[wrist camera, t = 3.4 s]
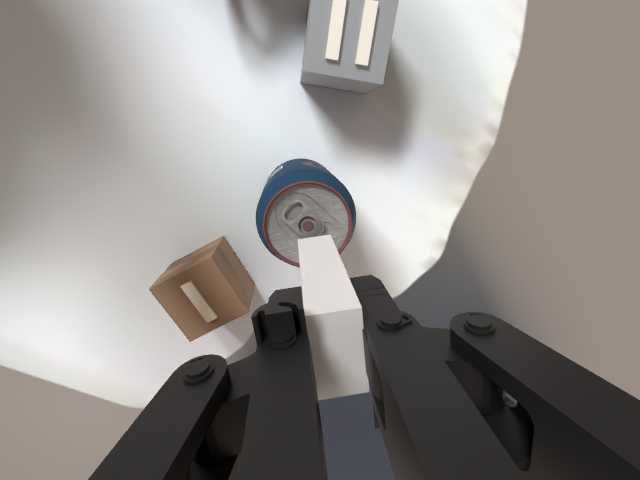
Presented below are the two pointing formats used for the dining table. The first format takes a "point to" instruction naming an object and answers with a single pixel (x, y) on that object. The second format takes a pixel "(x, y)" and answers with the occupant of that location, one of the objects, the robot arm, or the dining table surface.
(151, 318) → the dining table surface
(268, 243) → the soda can
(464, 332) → the robot arm
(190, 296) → the walnut numbered block
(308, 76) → the slate numbered block
